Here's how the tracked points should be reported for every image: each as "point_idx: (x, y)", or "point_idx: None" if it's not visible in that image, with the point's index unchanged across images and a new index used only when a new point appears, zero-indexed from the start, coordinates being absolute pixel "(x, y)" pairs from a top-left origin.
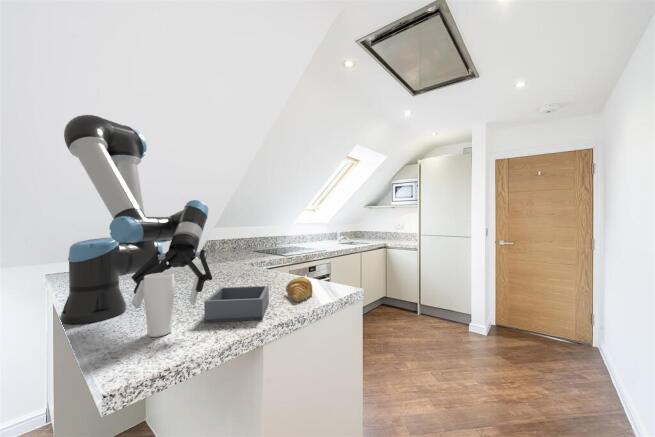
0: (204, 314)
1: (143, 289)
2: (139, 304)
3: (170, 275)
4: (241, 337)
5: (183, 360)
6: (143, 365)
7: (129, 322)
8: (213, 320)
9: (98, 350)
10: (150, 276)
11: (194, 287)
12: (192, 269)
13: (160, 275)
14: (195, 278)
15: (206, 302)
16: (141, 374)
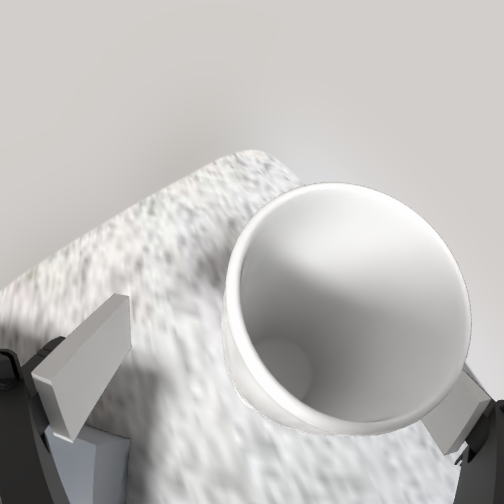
0: (119, 441)
1: (397, 284)
2: None
3: (239, 238)
4: (34, 270)
5: (155, 194)
6: (232, 194)
7: (418, 481)
8: (95, 429)
9: None
10: (452, 345)
11: (81, 331)
12: (53, 496)
13: (403, 409)
14: (50, 378)
15: (88, 440)
16: (222, 168)
